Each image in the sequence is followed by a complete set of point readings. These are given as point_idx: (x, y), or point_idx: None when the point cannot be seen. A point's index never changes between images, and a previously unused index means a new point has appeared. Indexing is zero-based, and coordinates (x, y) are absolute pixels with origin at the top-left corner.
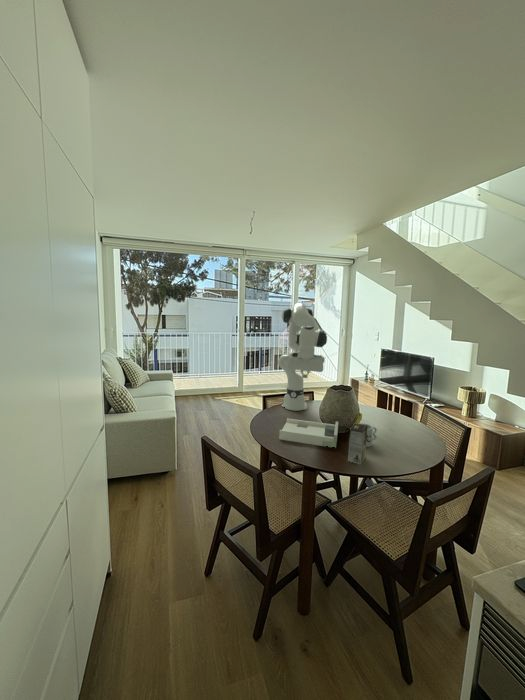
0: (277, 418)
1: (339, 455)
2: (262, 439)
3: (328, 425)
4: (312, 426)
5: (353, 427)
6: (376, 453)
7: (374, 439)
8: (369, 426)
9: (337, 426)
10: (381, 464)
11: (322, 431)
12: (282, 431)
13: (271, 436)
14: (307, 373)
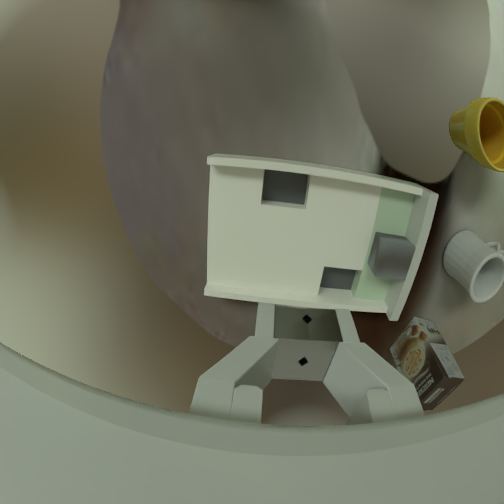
0: (166, 79)
1: (380, 330)
2: (164, 288)
3: (393, 245)
4: (329, 185)
5: (424, 401)
6: (464, 296)
7: (491, 245)
8: (502, 266)
9: (423, 247)
10: (447, 338)
11: (365, 230)
12: (215, 295)
13: (182, 262)
14: (347, 412)
